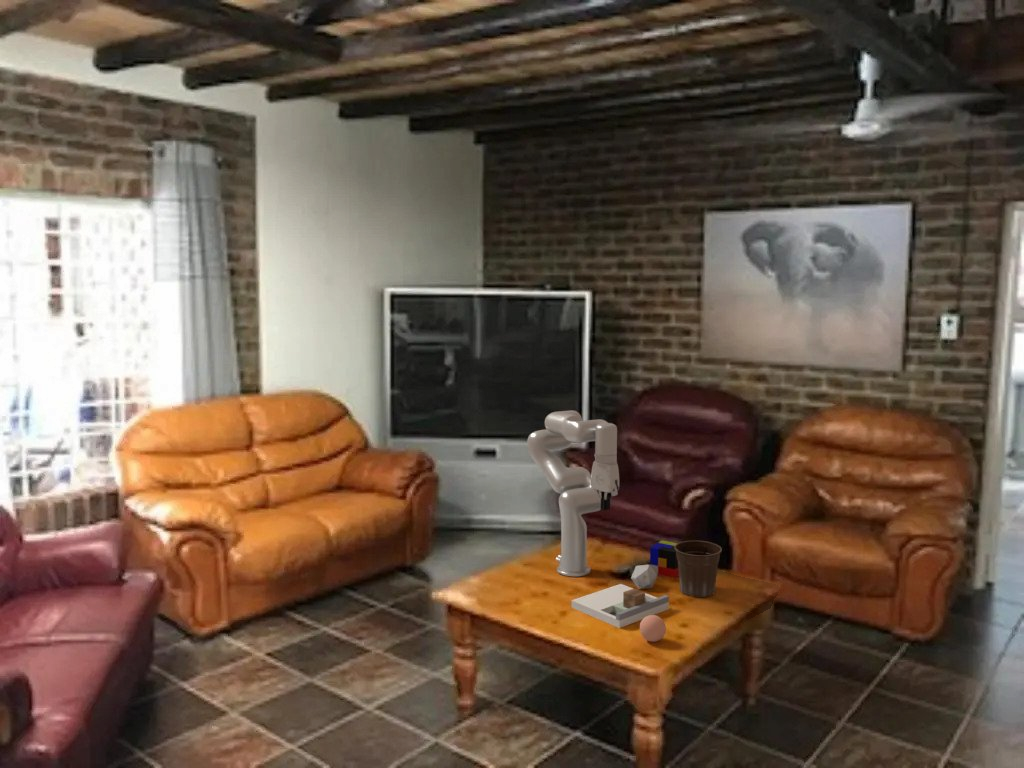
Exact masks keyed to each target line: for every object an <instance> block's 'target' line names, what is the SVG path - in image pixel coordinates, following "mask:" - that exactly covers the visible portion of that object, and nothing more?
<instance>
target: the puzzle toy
mask: <svg viewBox="0 0 1024 768" xmlns="http://www.w3.org/2000/svg"><path fill="white" fill-rule="evenodd" d="M676 544H677V543H676V542H672V541H667V540H660V541H659V542H657V543H655V544H653V545H651V546H649V548H650V549H649V551H650V552H649V565H650V566H651V568H652V569H653V570H654V572H655V573H656V574H657V576H658V575H659V576H662V577H663V576H664V577H668V578H672V579H675V578H677V577H679V570H678V560H677V557H676V550H675V548H674V546H675V545H676Z"/></svg>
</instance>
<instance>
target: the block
mask: <svg viewBox="0 0 1024 768" xmlns="http://www.w3.org/2000/svg"><path fill="white" fill-rule="evenodd" d="M645 593H646V592H644V591H641V590H640V589H636V588H633V589H631V590H628V591H625V592H623V607H625V608H628V609H629V608H631V607H634V606H637V605H640V604H642V603H645Z"/></svg>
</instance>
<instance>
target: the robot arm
mask: <svg viewBox="0 0 1024 768" xmlns="http://www.w3.org/2000/svg"><path fill="white" fill-rule="evenodd" d="M544 427H545V429H540V430H535V431H533V432H531V433H530V434H529V435H528V438H527V441H526V443H527V445H526V446H527V451H528V453H529V455H530V457H531V459H532V461H533V462H534V464H535V465H536V466H537V467H538V468H539V469H540V470H541V472H542V473H543V474H544V477H545V478H546V480H547V481H548V483H549V484H550V486H551V488H552V489H553V491H555V493H557V494H559V496H558V506H559V507H558V508H559V513H560V521H561V523H560V524H561V526H560V530H561V531H560V535H561V541H560V542H561V543H560V545H561V548H560V549H561V553H560V554H558V555H557V556H556V557H555V561H556V562H558V563H559V565H558V566H557V567H556V571H557V573H558V574H561V575H563V576H566V577H576V578H577V577H582V576H587V575H589V574H590V573H591V567H590V566H589V565H588V564H587V545H588V544H587V541H588V540H587V534H588V531H587V529H588V527H587V523H586V521H585V520H584V517H582V515H585V514H589V513H590V514H591V513H594V512H598V511H603V512H605V511H608V510H610V509H611V499H612V498H613V497H616V496H618V493H619V492H618V491H619V490H620V471H619V470H620V469H619V465H618V461H617V460H618V458H617V453H618V451H617V449H618V427H617V425H616V424H614V423H613V422H608V421H606V420H604V419H600V418H599V419H589V420H583V417H582V416H581V414H580V413H579V412H578V411H576V410H574V409H573V410H571V409H570V410H561V411H560V410H559V411H553V412H551V413H549V414H548V415H547V416H546V417H545V418H544ZM587 442H589V443H590V442H595V443H594V454H593V456H594V461H593V462H592V467H591V472H590V471H589V470H588V469H586V468H585V467H582V466H575V467H567V466H565V464H564V463H563V461H562V460H561V458H560V457H559V456H558V455H556V454H554V453H553V452H551V451H559V450H565V449H568V448H569V447H570V446H571V445H572V444H573V443H580V444H581V443H587Z"/></svg>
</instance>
